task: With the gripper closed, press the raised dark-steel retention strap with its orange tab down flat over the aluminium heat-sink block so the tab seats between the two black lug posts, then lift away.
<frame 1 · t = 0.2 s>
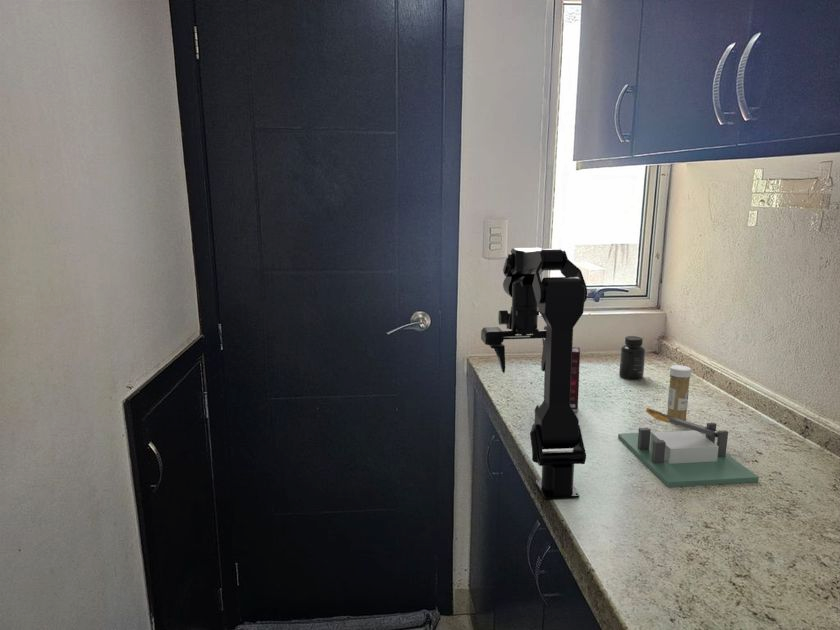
hand: (523, 371, 131), 14 cm above the worktop, tool pointing down, fingers open, 9 cm apart
supplement bottle: (631, 377, 171), on the worktop
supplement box: (560, 408, 147), on the worktop
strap: (685, 424, 117), point 8 cm above the worktop, hinge at 20.0°
board: (682, 458, 119), on the worktop
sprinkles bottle: (675, 421, 138), on the worktop
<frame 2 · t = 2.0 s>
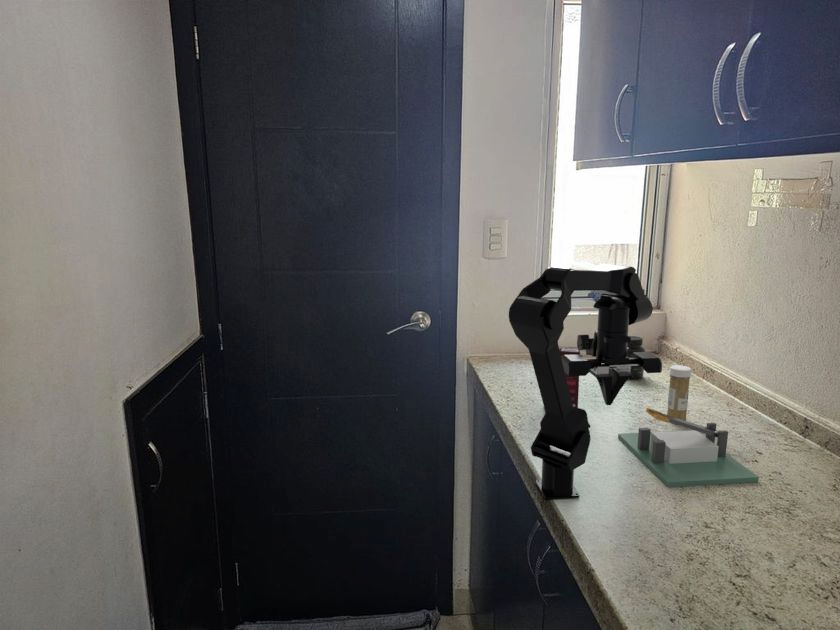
hand: (608, 404, 115), 13 cm above the worktop, tool pointing down, fingers closed
nothing on the worktop moved.
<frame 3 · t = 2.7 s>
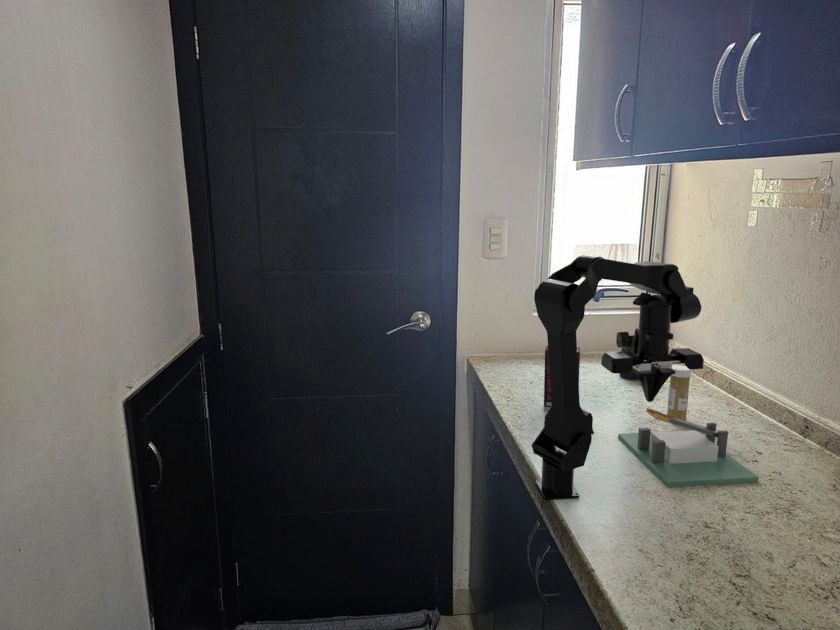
hand: (649, 401, 116), 13 cm above the worktop, tool pointing down, fingers closed
nothing on the worktop moved.
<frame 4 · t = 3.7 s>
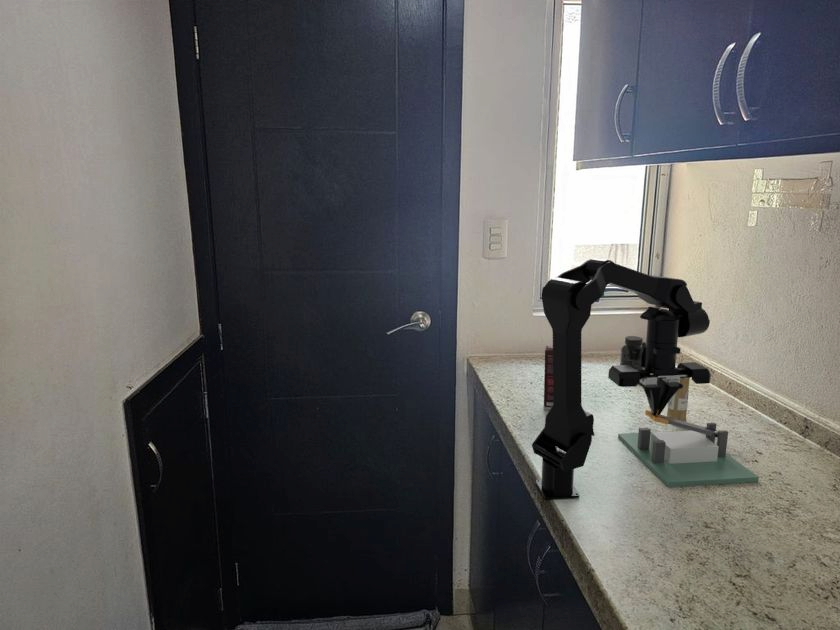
hand: (655, 414, 116), 10 cm above the worktop, tool pointing down, fingers closed
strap: (685, 425, 118), point 7 cm above the worktop, hinge at 18.1°, touching gripper
everything else where it was.
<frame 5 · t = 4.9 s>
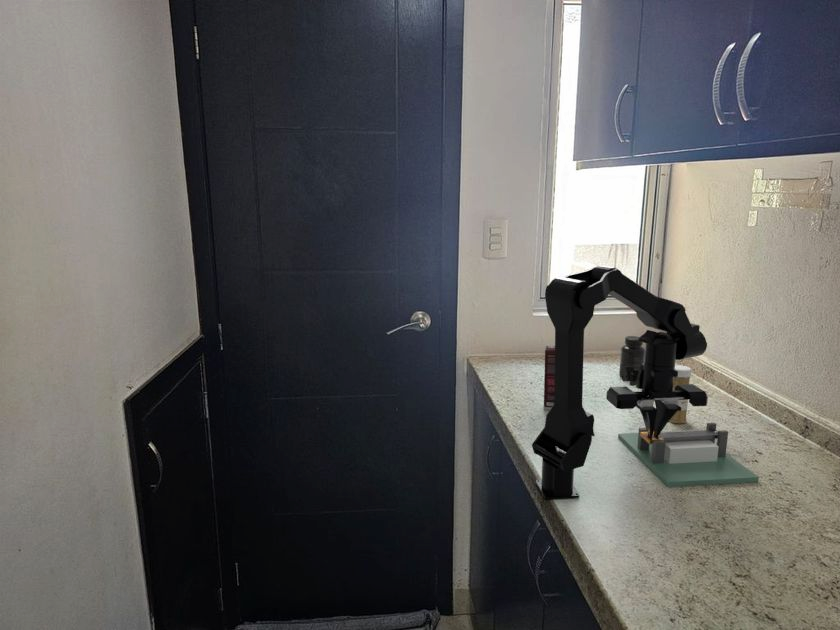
hand: (652, 435, 117), 5 cm above the worktop, tool pointing down, fingers closed, pressing on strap
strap: (682, 435, 118), point 5 cm above the worktop, hinge at -0.2°, touching gripper
everything else where it was.
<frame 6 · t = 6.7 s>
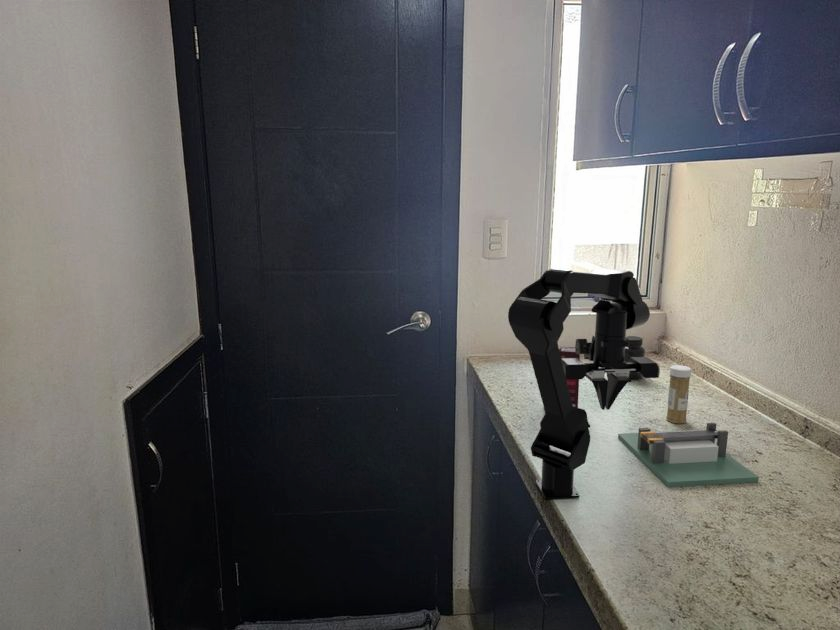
hand: (604, 409, 115), 12 cm above the worktop, tool pointing down, fingers closed
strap: (682, 435, 118), point 5 cm above the worktop, hinge at -0.2°
everything else where it was.
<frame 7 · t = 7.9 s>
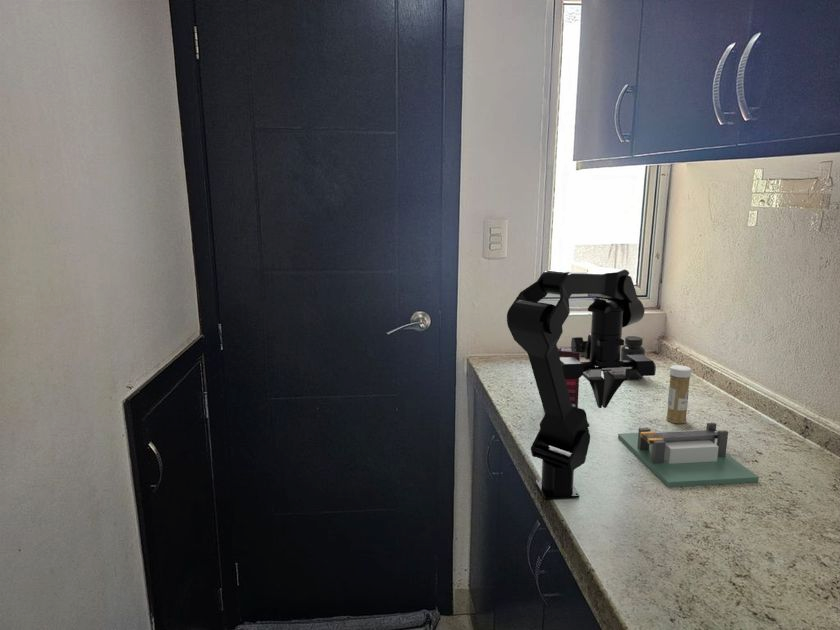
hand: (601, 407, 115), 12 cm above the worktop, tool pointing down, fingers closed
nothing on the worktop moved.
at the end: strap at +0° (first picture: +20°) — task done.
